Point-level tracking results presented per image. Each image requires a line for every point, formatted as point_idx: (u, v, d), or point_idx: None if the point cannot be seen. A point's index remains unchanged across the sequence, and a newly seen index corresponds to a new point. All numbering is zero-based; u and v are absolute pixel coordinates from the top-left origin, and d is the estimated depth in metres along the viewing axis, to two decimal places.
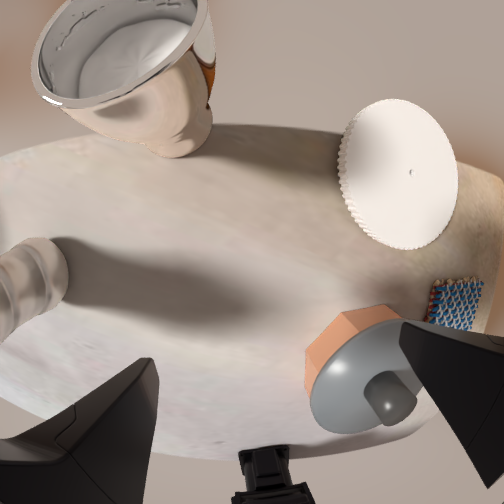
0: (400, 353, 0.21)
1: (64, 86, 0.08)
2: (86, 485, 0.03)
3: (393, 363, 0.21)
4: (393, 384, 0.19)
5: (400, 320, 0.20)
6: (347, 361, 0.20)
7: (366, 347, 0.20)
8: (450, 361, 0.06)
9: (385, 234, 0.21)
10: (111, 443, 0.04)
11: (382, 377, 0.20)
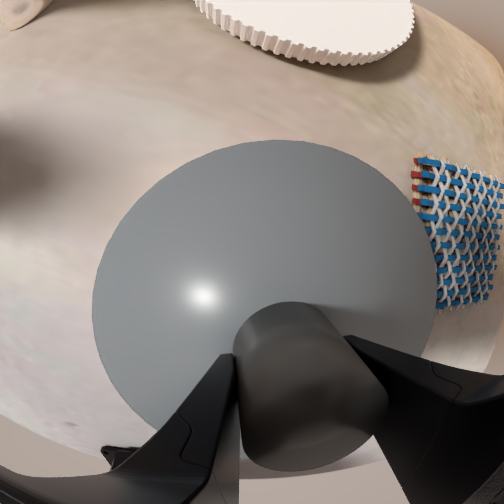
0: (330, 250, 0.08)
1: None
2: (219, 500, 0.03)
3: (313, 280, 0.09)
4: (298, 333, 0.07)
5: None
6: (148, 242, 0.08)
7: (199, 203, 0.08)
8: (384, 387, 0.06)
9: (263, 21, 0.09)
10: (227, 447, 0.04)
11: (273, 314, 0.08)
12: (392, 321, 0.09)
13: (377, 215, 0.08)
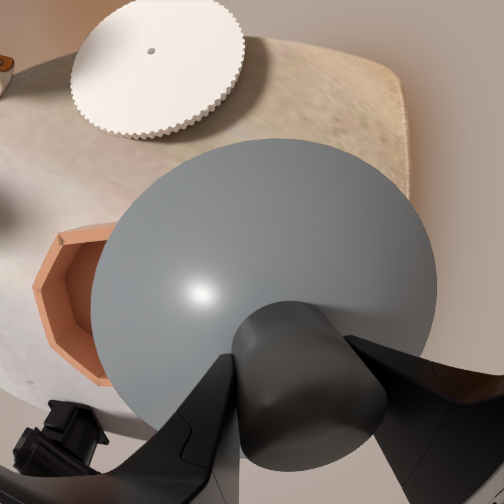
0: (329, 249, 0.08)
1: None
2: (219, 500, 0.03)
3: (312, 279, 0.09)
4: (297, 333, 0.07)
5: None
6: (146, 241, 0.08)
7: (197, 202, 0.08)
8: (384, 387, 0.06)
9: (106, 120, 0.16)
10: (227, 447, 0.04)
11: (271, 314, 0.08)
12: (392, 321, 0.09)
13: (376, 214, 0.08)
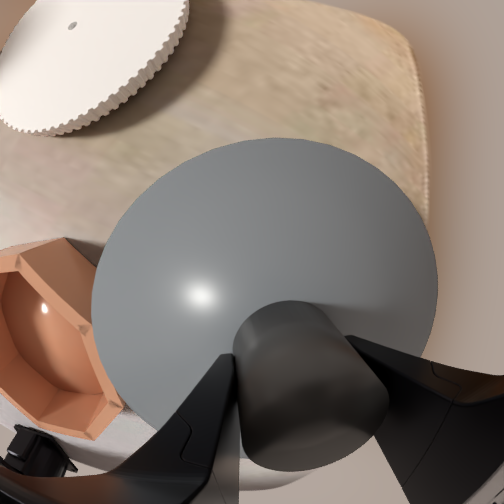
0: (331, 248, 0.08)
1: None
2: (219, 500, 0.03)
3: (313, 279, 0.09)
4: (298, 332, 0.07)
5: None
6: (147, 240, 0.08)
7: (198, 201, 0.08)
8: None
9: (18, 117, 0.09)
10: (227, 447, 0.04)
11: (273, 313, 0.08)
12: (393, 320, 0.09)
13: (377, 214, 0.08)
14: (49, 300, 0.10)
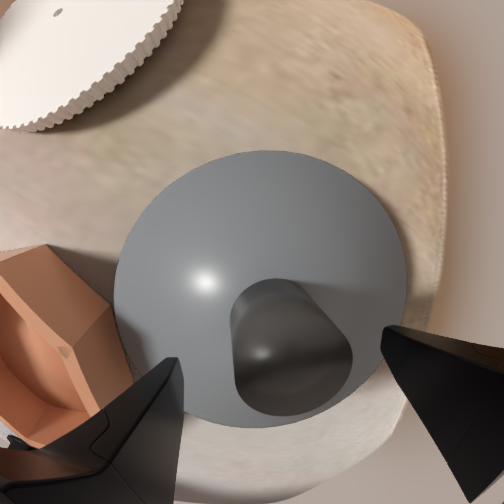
0: (307, 236, 0.11)
1: None
2: (125, 494, 0.03)
3: (294, 261, 0.11)
4: (279, 297, 0.09)
5: None
6: (163, 230, 0.10)
7: (203, 200, 0.10)
8: (430, 370, 0.06)
9: None
10: (146, 447, 0.04)
11: (261, 287, 0.10)
12: (366, 299, 0.12)
13: (346, 208, 0.11)
14: (26, 318, 0.08)
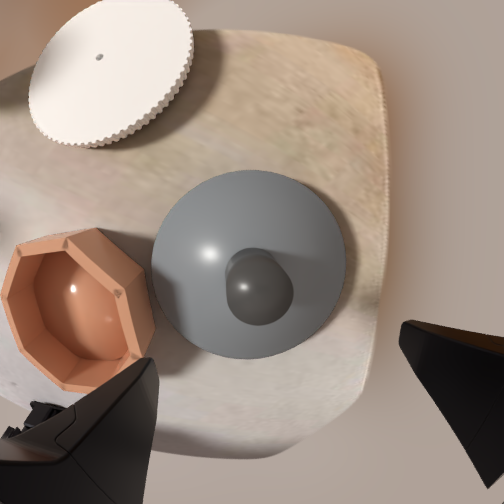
0: (272, 221, 0.18)
1: None
2: (86, 485, 0.03)
3: (264, 237, 0.18)
4: (252, 254, 0.16)
5: (260, 171, 0.17)
6: (184, 219, 0.17)
7: (208, 200, 0.17)
8: (450, 361, 0.06)
9: (57, 132, 0.14)
10: (111, 443, 0.04)
11: (243, 251, 0.17)
12: (314, 262, 0.19)
13: (297, 204, 0.18)
14: (91, 272, 0.14)
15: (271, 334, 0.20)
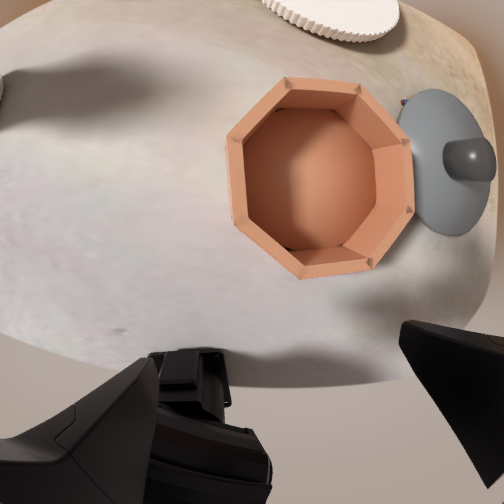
0: (458, 126, 0.18)
1: None
2: (86, 485, 0.03)
3: (457, 135, 0.18)
4: (467, 139, 0.16)
5: None
6: (417, 112, 0.17)
7: (428, 103, 0.17)
8: (449, 361, 0.06)
9: (306, 12, 0.14)
10: (111, 443, 0.04)
11: (454, 141, 0.17)
12: None
13: (466, 118, 0.18)
14: (383, 119, 0.14)
15: (464, 212, 0.19)
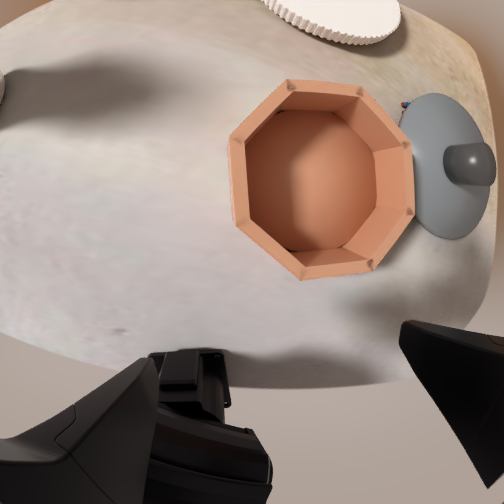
0: (458, 129, 0.18)
1: None
2: (86, 485, 0.03)
3: (456, 139, 0.18)
4: (467, 143, 0.16)
5: None
6: (417, 118, 0.17)
7: (427, 109, 0.17)
8: (450, 361, 0.06)
9: (308, 14, 0.14)
10: (111, 443, 0.04)
11: (453, 145, 0.17)
12: None
13: (465, 120, 0.18)
14: (384, 121, 0.15)
15: (465, 215, 0.20)
